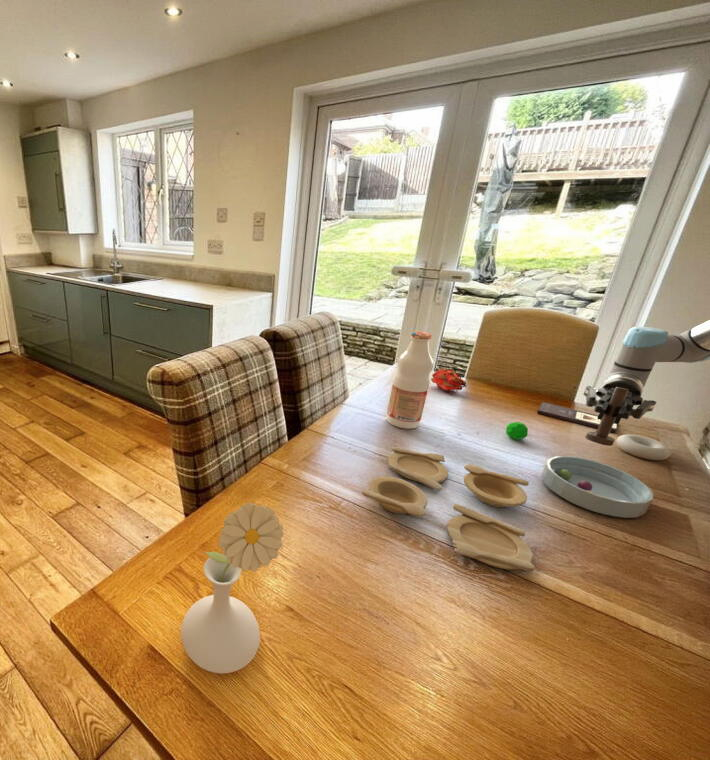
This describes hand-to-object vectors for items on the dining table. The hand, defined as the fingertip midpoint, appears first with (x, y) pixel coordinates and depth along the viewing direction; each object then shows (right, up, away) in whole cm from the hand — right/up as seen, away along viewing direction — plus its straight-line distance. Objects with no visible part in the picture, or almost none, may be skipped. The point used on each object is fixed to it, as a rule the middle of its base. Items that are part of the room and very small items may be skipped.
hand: (609, 416), depth 92 cm
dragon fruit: (-7, +5, +52) cm, 52 cm away
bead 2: (-10, -15, -4) cm, 19 cm away
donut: (+21, -11, +13) cm, 27 cm away
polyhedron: (-7, -8, +20) cm, 22 cm away
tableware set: (-43, -18, -6) cm, 47 cm away
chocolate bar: (+22, -3, +31) cm, 38 cm away
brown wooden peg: (+3, -7, +6) cm, 9 cm away
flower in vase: (-93, -30, -35) cm, 103 cm away
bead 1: (-11, -14, 0) cm, 17 cm away
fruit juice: (-35, -4, +28) cm, 45 cm away
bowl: (-8, -17, -3) cm, 19 cm away
